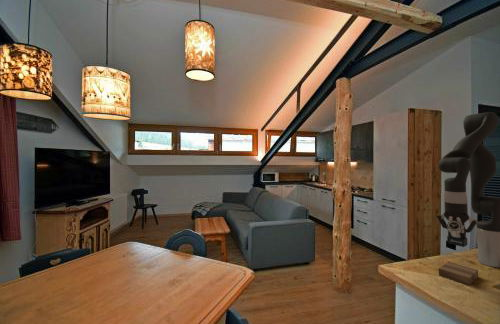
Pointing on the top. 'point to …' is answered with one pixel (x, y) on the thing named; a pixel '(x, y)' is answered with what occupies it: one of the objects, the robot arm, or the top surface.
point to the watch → (455, 234)
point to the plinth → (458, 273)
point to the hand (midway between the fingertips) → (456, 239)
